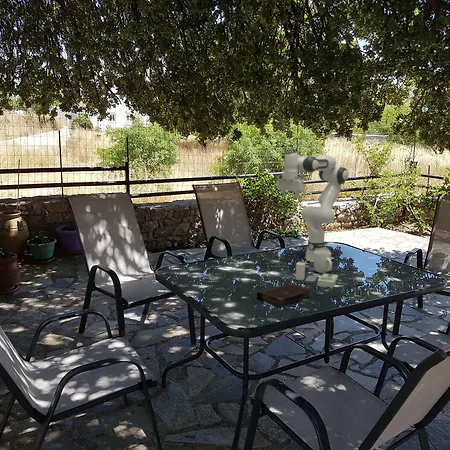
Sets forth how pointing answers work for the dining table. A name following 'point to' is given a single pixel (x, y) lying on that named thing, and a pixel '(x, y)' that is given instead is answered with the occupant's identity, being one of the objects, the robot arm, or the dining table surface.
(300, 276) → the charger
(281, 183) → the robot arm
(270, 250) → the dining table surface
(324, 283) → the green desk organizer
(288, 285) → the diary
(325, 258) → the mug
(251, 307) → the dining table surface
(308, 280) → the phone
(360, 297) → the dining table surface
